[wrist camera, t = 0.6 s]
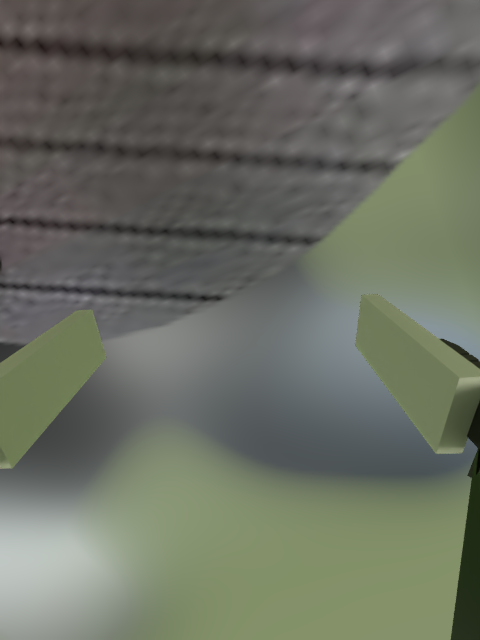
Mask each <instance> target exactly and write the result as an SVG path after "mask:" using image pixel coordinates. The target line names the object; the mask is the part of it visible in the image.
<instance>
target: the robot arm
mask: <svg viewBox="0 0 480 640" xmlns="http://www.w3.org/2000/svg"><path fill="white" fill-rule="evenodd" d="M355 345H356V347H357V348H358V350H359V351H360V352H361V353H362V355H363V356H364V358H365V359H366V361H367V362H368V363H369V365H370V366H371V367H372V369H373V370H374V371H375V373H376V374H377V375H378V377H379V378H380V379H381V381H382V382H383V383H384V385H385V386H386V387H387V389H388V390H389V391H390V393H391V394H392V395H393V397H394V398H395V399H396V401H397V402H398V403H399V405H400V406H401V407H402V409H403V410H404V412H406V414H407V415H408V417H409V418H410V419H411V421H412V422H413V423H414V425H415V426H416V428H417V429H418V430H419V432H420V433H421V434H422V436H423V437H424V438H425V439H426V441H427V442H428V444H429V445H430V446H431V448H432V449H433V450H434V452H435V453H436V454H446V453H462V452H463V449H464V447H465V444H466V441H467V438H469V439H470V440H471V441H472V442H473V443H474V444H475V445H476V446H477V447H478V450H477V453H476V455H475V458H474V460H473V463H472V465H471V468H470V471H469V473H468V476H469V477H472V481H471V489H470V496H469V504H468V512H467V520H466V528H465V535H464V542H463V551H462V558H461V565H460V573H459V580H458V588H457V596H456V603H455V611H454V619H453V626H452V634H451V640H480V362H479V360H478V359H477V358H475V357H474V356H473V355H469V353H468V352H467V351H465V350H464V349H462V348H461V347H460V346H458V345H456V344H454V343H451V342H449V341H447V340H444V339H438V338H437V337H436V336H434V335H433V334H431V333H430V332H429V331H427V330H426V329H425V328H423V327H422V326H421V325H419V324H418V323H416V322H415V321H414V320H412V319H411V318H410V317H408V316H407V315H406V314H404V313H403V312H401V311H400V310H399V309H397V308H396V307H395V306H393V305H392V304H391V303H389V302H388V301H386V300H385V299H384V298H382V297H381V296H380V295H378V294H371V295H370V294H369V295H361V302H360V310H359V319H358V328H357V336H356V344H355ZM105 358H106V354H105V351H104V348H103V344H102V341H101V338H100V334H99V331H98V328H97V324H96V321H95V318H94V314H93V311H92V310H77V311H75V312H74V313H72V314H71V315H70V316H68V317H67V318H65V319H64V320H62V321H61V322H59V323H58V324H56V325H55V326H54V327H52V328H51V329H49V330H48V331H46V332H45V333H43V334H42V335H40V336H39V337H38V338H36V339H35V340H33V341H32V342H30V343H29V344H27V345H26V346H25V347H23V348H22V349H20V350H19V351H17V352H16V353H14V354H13V355H11V356H10V357H9V358H7V359H6V360H4V361H3V362H1V363H0V469H1V468H13V467H14V466H15V465H16V463H17V462H18V461H19V460H20V458H21V457H22V456H23V455H24V454H25V453H26V452H27V450H28V449H29V448H30V447H31V446H32V444H33V443H34V442H35V441H36V440H37V438H38V437H39V436H40V435H41V434H42V433H43V431H44V430H45V429H46V428H47V427H48V426H49V424H50V423H51V422H52V421H53V420H54V419H55V417H56V416H57V415H58V414H59V413H60V411H61V410H62V409H63V408H64V407H65V406H66V404H67V403H68V402H69V401H70V400H71V399H72V397H73V396H74V395H75V394H76V393H77V391H78V390H79V389H80V388H81V386H82V385H83V384H84V383H85V382H86V381H87V380H88V379H89V377H90V376H91V375H92V374H93V373H94V371H95V370H96V369H97V368H98V367H99V366H100V364H101V363H102V362H103V361H104V360H105Z"/></svg>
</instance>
